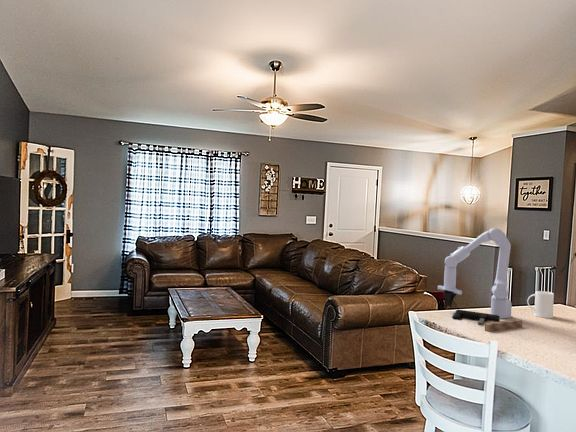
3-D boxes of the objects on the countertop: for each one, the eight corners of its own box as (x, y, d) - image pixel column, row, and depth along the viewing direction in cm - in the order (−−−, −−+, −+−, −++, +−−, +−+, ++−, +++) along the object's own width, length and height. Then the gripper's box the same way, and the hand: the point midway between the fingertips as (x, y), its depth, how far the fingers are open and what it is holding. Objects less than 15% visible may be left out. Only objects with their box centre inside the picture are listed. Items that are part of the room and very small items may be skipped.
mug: (526, 315, 224) (527, 292, 224) (526, 312, 232) (527, 289, 232) (553, 319, 219) (554, 295, 218) (552, 315, 226) (554, 292, 226)
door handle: (496, 323, 200) (500, 314, 213) (449, 316, 210) (456, 308, 224) (495, 330, 200) (499, 320, 214) (449, 323, 210) (456, 314, 224)
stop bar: (518, 325, 204) (518, 319, 204) (522, 326, 202) (522, 320, 202) (484, 330, 195) (484, 323, 194) (488, 331, 193) (488, 324, 193)
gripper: (433, 277, 232) (432, 303, 232) (455, 282, 219) (454, 309, 219) (443, 276, 235) (442, 302, 235) (465, 281, 222) (464, 308, 222)
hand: (448, 305), depth 227 cm, fingers closed
